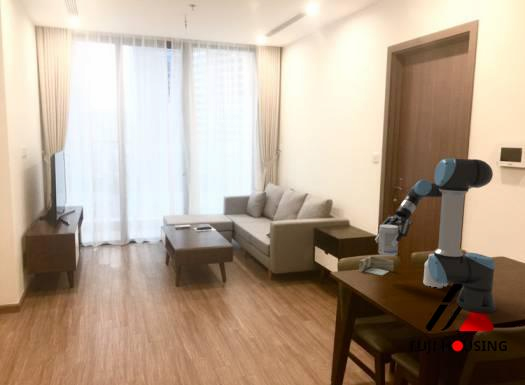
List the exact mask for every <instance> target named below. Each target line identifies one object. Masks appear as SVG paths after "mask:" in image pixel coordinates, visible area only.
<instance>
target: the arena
mask: <svg viewBox="0 0 525 385" xmlns="http://www.w3.org/2000/svg"><path fill="white" fill-rule="evenodd" d="M394 262H395V260H393V259H388V258H382V257H377V256H373V255H369V256H367V257H365V258H363V259H360V260H359V264H358V265H359V266H358V272H359V273H361V272H363V271H366V270H368V269H370V268H372V267H373V268H378V269H382V270H387V271H389V272H394Z"/></svg>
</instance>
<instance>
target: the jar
mask: <svg viewBox="0 0 525 385" xmlns="http://www.w3.org/2000/svg"><path fill="white" fill-rule="evenodd" d="M432 255H433V256H434V253H429V254H428V259H427V260H426V261H425V262H424V271H423V281H422V283H423V284H424V285H425V286H426V287H429V286H431V287H430V288H433V287H437V288H436V289H443V288H444V287H448V286H447V285H449V283H446V284H445V283H438V282H435V281H434V280H433V279H432V277H431V275H430V272H429V268H428V260H429V257H430V256H432ZM443 286H444V287H443Z"/></svg>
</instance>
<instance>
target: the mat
mask: <svg viewBox="0 0 525 385" xmlns="http://www.w3.org/2000/svg"><path fill="white" fill-rule="evenodd" d="M364 272H365V273H369V274H373V275H377V276H384V275H386V274H387V273H390V271H388V270H384V269H379V268H375V267H370V268H368V269H366V270H364Z"/></svg>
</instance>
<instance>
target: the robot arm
mask: <svg viewBox="0 0 525 385" xmlns="http://www.w3.org/2000/svg"><path fill="white" fill-rule="evenodd" d="M433 176H434V177H433V180H434V182H430V181H429V180H427V179H420V180H418V181H417V182H416V183H415V184H414V186H412V187H411V188H410V189H409V191H408V193H407V194H406V196H405V198H403V201H402V202H401V203H400V205H399V207H398V208H397V209H396V211H395V213H394V215H393V216H391V215H387V216H386V217H387V218H386V219H385V220H383V222H382V223H381V224H380V225H395V226H398V230H399V231H398V234H397V235H396V236H395V238H394V240H393V241H392V243H391V244H392V246H393V247H395V245H396V244H397V242H398V243H399V242H400V241H401V240H402V238H406V237H408V232H409V230H410V228H411V225H412V224H413V222H412V220H411V219H410V218H411V216H413V215H412V214H413V213H414V212H415V210H416V209H417V207H418V205H419V204H420V202H421V201H422V200H424V198H440V199H441V205H440V206H441V207H440V208H441V209H440V219H439V220H440V221H439V235H438V247H437V248H436V249H435V250H434V252H433V254H434V256H433V255H432V256H430V257H429V256H428V259H429V260H428V259H427V260H428V268H429V272H430V275H431V277H432V279H433V280H434V281H435V282H438V283H445V284H446V283H448V284H462V288H461V289H460V291H459V293H458V294H457V295H458V296H457V298H456V304H457V303H458V304H459V306H458V307H460V308H462V309H464V310H467V311H469V312H473V313H474V312H475V313H481V314H483V313H484V314H490V313H493V312H495V310H496V302H495V298H494V295H493V285H494V276H495V270H496V269H495V260H494V259H493V258H491V257H490V256H487V255H484V254H480V253H476V252H465V254H464V253H463V252H462V250H461V240H462V226H463V213H464V200H465V195H466V194H468V192H469V191H470V189H473V188H475V189H479V188H482V187H485V186H486V185H488V184H489V183H490V182H491V181H492V179H493V176H494V174H493V168H492V167H491V165H490V164H488V163H487V162H486V161H485V160H481V159H474V158H473V159H470V158H468V159H467V158H443V159H441V160H440V161H439V162H438V164H437V165H436V167H435V170H434V174H433ZM380 225H378V226H377V230H379V228H380ZM374 241H375V243H376V244H379V231H378V232H377V234H376V237H375V238H374Z"/></svg>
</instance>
